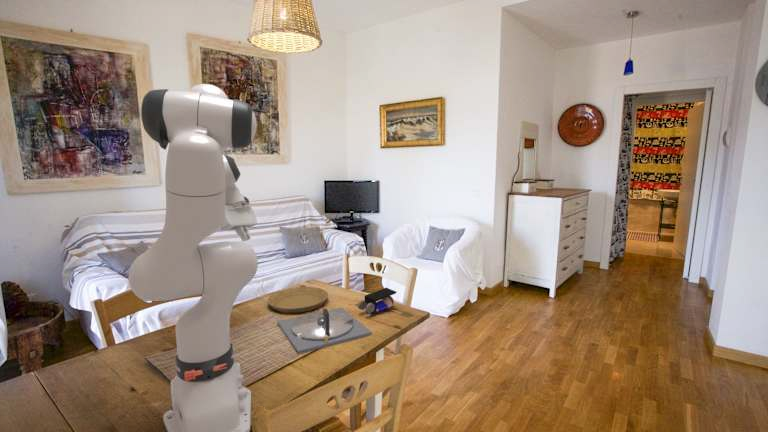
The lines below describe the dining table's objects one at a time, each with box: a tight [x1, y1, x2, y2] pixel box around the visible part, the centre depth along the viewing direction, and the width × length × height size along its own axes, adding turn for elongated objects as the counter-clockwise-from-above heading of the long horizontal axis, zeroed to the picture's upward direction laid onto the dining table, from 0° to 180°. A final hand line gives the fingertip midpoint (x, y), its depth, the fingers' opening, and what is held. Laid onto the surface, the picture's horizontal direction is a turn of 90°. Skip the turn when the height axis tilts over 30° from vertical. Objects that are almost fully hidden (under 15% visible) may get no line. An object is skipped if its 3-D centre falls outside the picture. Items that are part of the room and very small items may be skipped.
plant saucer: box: [267, 286, 329, 314], centre depth 153 cm, size 24×24×3 cm
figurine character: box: [357, 287, 397, 317], centre depth 144 cm, size 7×8×15 cm
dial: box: [292, 308, 353, 340], centre depth 128 cm, size 21×21×8 cm
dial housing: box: [276, 307, 373, 355], centre depth 129 cm, size 25×25×3 cm
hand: (246, 240), depth 123 cm, fingers closed
